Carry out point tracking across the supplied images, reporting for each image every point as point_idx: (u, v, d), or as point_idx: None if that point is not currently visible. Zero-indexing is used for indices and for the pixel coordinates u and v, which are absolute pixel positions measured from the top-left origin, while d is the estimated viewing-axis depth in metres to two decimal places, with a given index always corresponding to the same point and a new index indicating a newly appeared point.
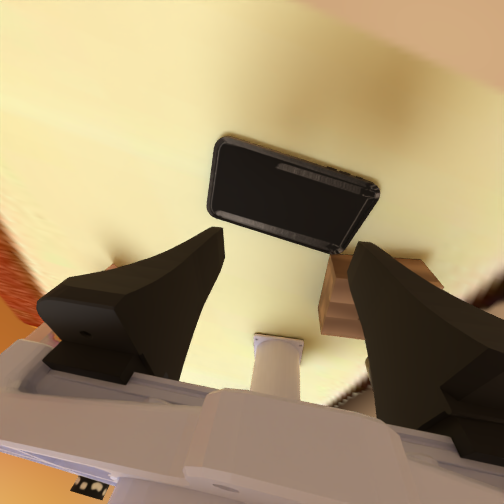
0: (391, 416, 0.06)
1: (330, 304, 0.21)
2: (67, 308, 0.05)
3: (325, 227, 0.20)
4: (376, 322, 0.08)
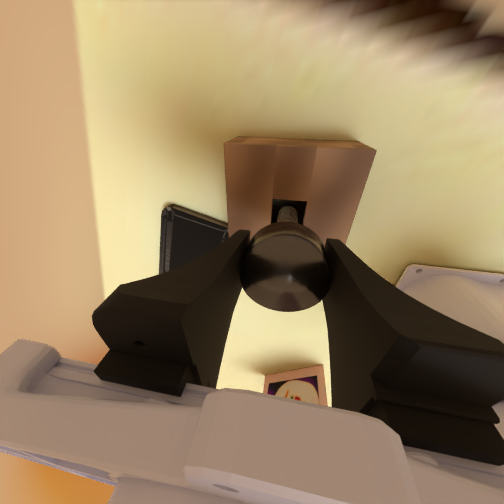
0: (340, 406, 0.07)
1: None
2: (127, 318, 0.04)
3: (206, 243, 0.22)
4: (335, 316, 0.08)
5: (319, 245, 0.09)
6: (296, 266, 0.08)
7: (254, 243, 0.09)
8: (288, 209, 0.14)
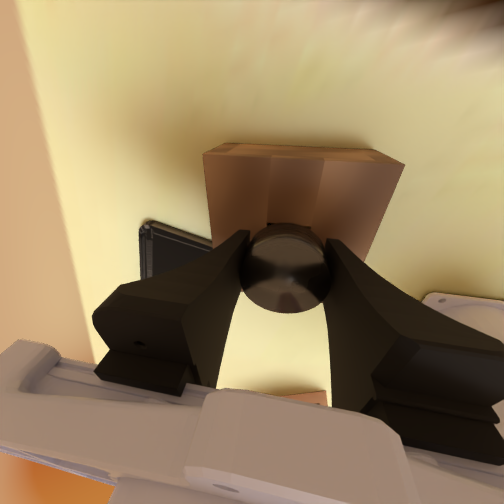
0: (340, 406, 0.07)
1: None
2: (128, 318, 0.04)
3: None
4: (335, 316, 0.08)
5: (319, 246, 0.09)
6: (296, 268, 0.08)
7: (254, 245, 0.09)
8: None
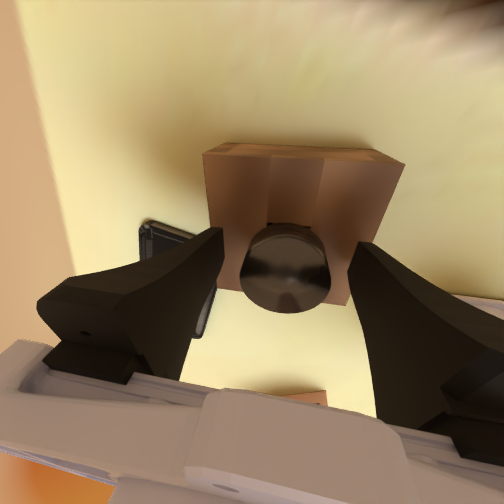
0: (391, 416, 0.06)
1: None
2: (67, 308, 0.05)
3: None
4: (376, 322, 0.08)
5: (319, 246, 0.09)
6: (296, 268, 0.08)
7: (254, 245, 0.09)
8: None
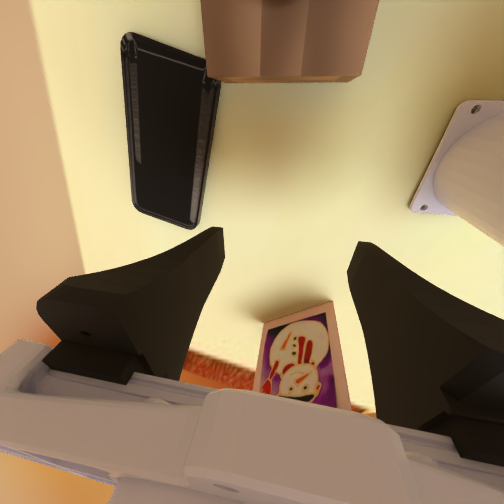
0: (391, 416, 0.06)
1: (266, 72, 0.12)
2: (67, 308, 0.05)
3: (183, 99, 0.17)
4: (376, 322, 0.08)
5: None
6: None
7: None
8: None
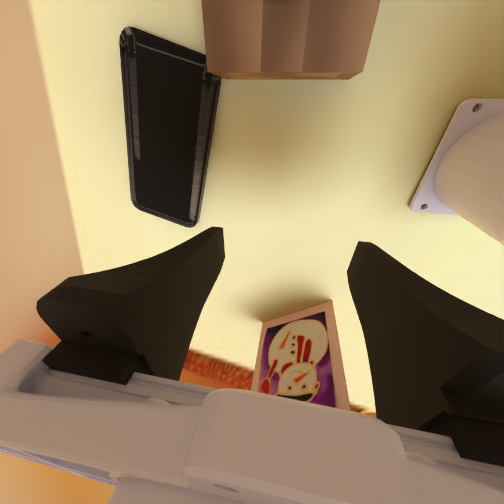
0: (391, 416, 0.06)
1: (267, 68, 0.12)
2: (67, 308, 0.05)
3: (182, 96, 0.16)
4: (376, 322, 0.08)
5: None
6: None
7: None
8: None
